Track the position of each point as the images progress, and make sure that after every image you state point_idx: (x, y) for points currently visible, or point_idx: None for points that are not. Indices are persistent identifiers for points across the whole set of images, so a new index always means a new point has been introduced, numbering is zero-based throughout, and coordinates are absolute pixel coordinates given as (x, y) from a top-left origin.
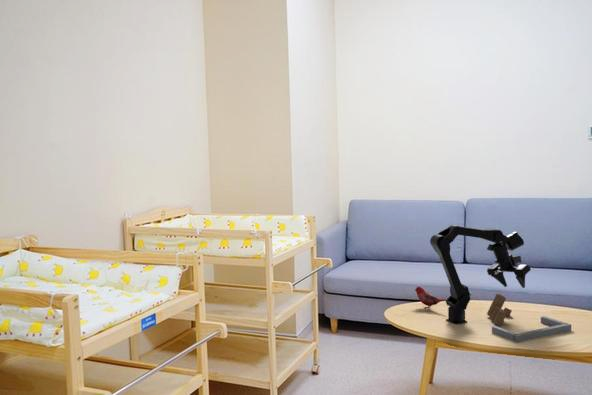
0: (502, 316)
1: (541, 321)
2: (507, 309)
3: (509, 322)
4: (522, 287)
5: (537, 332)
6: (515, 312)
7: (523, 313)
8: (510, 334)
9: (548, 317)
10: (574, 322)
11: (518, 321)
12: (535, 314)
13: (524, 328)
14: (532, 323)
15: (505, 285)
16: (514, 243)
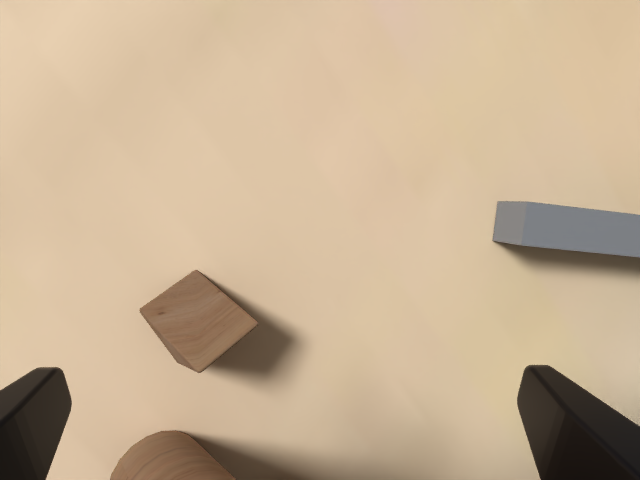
0: None
1: (504, 241)
2: (221, 351)
3: (345, 445)
4: (527, 426)
5: None
6: (175, 157)
7: (242, 124)
8: None
9: (570, 208)
10: (637, 17)
11: (370, 363)
12: (327, 63)
13: (502, 462)
14: (466, 312)
15: (53, 427)
16: None
